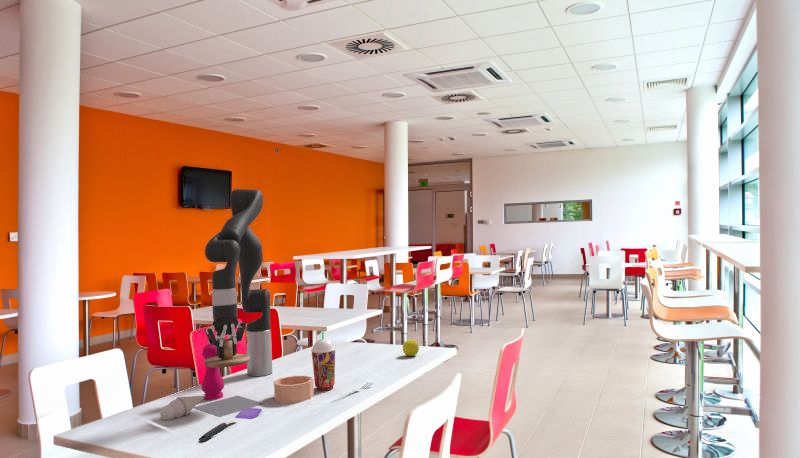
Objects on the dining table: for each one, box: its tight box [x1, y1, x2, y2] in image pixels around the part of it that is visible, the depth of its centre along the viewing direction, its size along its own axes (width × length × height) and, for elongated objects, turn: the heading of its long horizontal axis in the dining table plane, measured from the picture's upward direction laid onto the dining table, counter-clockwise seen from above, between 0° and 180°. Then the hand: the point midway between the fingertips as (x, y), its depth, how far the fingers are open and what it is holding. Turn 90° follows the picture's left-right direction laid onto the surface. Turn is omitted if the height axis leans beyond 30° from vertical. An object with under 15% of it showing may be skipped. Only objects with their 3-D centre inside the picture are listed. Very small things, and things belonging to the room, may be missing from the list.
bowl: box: [273, 375, 315, 404], centre depth 187 cm, size 12×12×6 cm
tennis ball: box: [402, 339, 420, 357], centre depth 246 cm, size 7×7×7 cm
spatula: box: [198, 407, 263, 444], centre depth 161 cm, size 24×7×2 cm, turn 158°
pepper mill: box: [201, 341, 225, 401], centre depth 191 cm, size 7×7×20 cm
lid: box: [203, 338, 250, 369], centre depth 181 cm, size 14×14×7 cm
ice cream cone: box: [159, 394, 206, 421], centre depth 174 cm, size 6×6×15 cm
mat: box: [193, 395, 266, 418], centre depth 181 cm, size 16×16×1 cm
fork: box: [330, 381, 374, 404], centre depth 189 cm, size 3×24×2 cm, turn 147°
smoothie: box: [311, 330, 336, 392], centre depth 199 cm, size 8×8×20 cm
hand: (226, 356), depth 181 cm, fingers closed on lid, 3 cm apart
